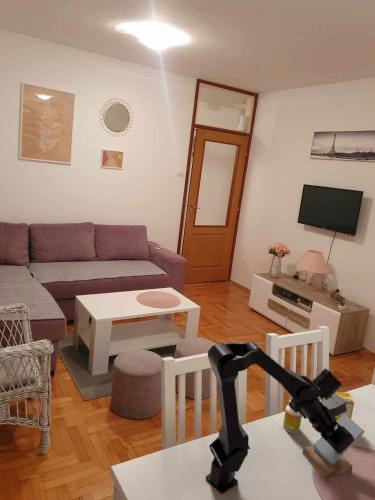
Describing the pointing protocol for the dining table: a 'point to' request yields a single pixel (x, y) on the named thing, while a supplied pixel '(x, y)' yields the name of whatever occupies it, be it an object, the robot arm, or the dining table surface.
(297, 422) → the supplement bottle
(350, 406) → the supplement box
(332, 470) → the ticket block
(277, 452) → the dining table surface
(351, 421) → the grey rectangular panel
